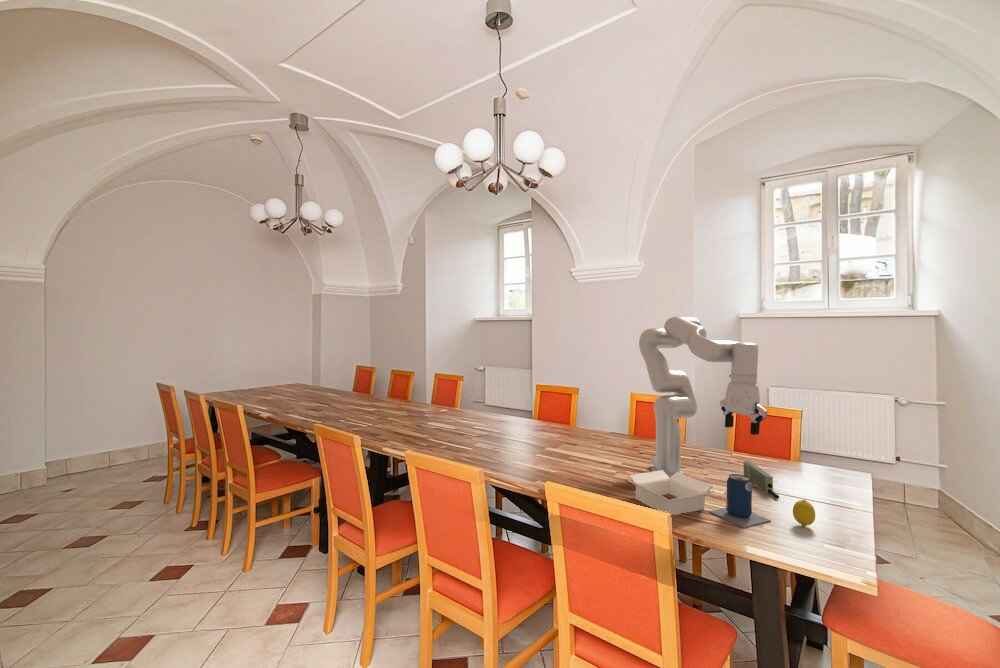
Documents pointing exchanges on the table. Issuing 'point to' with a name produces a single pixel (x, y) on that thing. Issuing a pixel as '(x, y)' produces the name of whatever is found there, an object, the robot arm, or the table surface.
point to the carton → (670, 491)
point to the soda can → (739, 496)
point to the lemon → (804, 513)
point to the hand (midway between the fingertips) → (741, 430)
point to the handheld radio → (759, 478)
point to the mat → (751, 521)
